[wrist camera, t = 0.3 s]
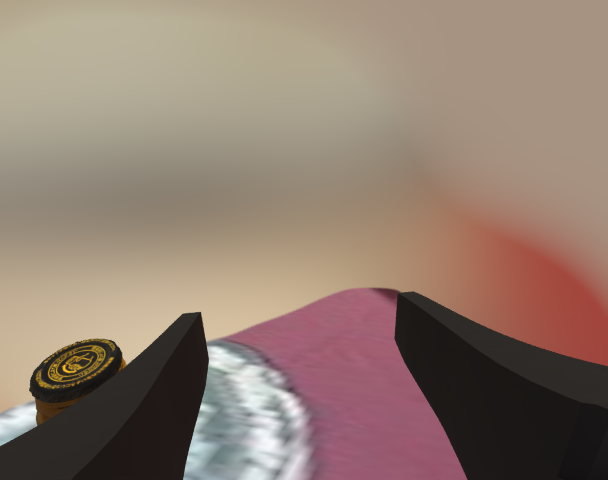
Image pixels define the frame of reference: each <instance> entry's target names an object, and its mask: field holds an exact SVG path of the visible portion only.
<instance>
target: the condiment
mask: <svg viewBox="0 0 608 480" xmlns="http://www.w3.org/2000/svg"><path fill="white" fill-rule="evenodd" d="M124 367H126V362H125V361H124V359H123V358H122V352H121V350H120V348H119V347H118V346H117V345H116V344H115V342H114V341H111V340H106V339H89V340H83V341H81V342H76V343H74V344H72V345H69V346H66V347H64V348H62V349H60V350H58V351H57V352H55V353H54V354H52V355H51V356H49V357H48V358H46V359H45V360H44V361H43V362H42V363H41V364H40V365H39V367H37V368H36V369H35V371H34V372H33V375H32V377H31V380H30V389H29V391H30V392H32V396H34V397H35V402H36V410H37V415H36V422H37V425H40V424H42V423H44V422H45V421H47V420H49V419H50V418H52V417H54V416H55V415H57V414H59V413H60V412H62V411H63V410H65V409H66V408H68V407H70V406H71V405H73V404H74V403H76V402H77V401H79V400H80V399H82V398H84V397H85V396H87V395H88V394H90V393H91V392H93V391H94V390H95V389H97V388H98V387H99V386H101V385H102V384H104V383H105V382H106V381H108V380H109V379H110V378H112V377H113V376H114V375H116V374H117V373H118V372H119V371H121V370H122V369H123V368H124Z"/></svg>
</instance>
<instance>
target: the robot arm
mask: <svg viewBox="0 0 608 480" xmlns="http://www.w3.org/2000/svg"><path fill="white" fill-rule="evenodd" d="M395 341H396V344H397V346H398V348H399V351H400V353H401V355H402V358H403V360H404V362H405V364H406V366H407V367H408V369H409V371H410V372H411V374H412V376H413V378H414V379H415V381H416V383H417V384H418V386H419V387H420V389H421V391H422V392H423V394H424V396H425V397H426V399H427V401H428V402H429V404H430V406H431V407H432V409H433V411H434V412H435V414H436V416H437V417H438V419H439V421H440V423H441V425H442V426H443V428H444V430H445V432H446V434H447V436H448V438H449V440H450V443H451V445H452V447H453V449H454V451H455V453H456V455H457V457H458V459H459V462H460V464H461V466H462V468H463V470H464V473H465V475H466V477H467V479H468V480H608V366H604V365H600V364H596V363H592V362H587V361H583V360H580V359H576V358H572V357H568V356H565V355H561V354H558V353H555V352H552V351H548V350H545V349H542V348H539V347H536V346H533V345H530V344H527V343H524V342H522V341H519V340H516V339H514V338H511V337H508V336H505V335H503V334H501V333H498V332H496V331H493V330H491V329H489V328H487V327H485V326H482V325H480V324H478V323H476V322H474V321H472V320H470V319H468V318H466V317H463V316H461V315H459V314H457V313H456V312H454V311H452V310H450V309H448V308H446V307H444V306H442V305H440V304H438V303H436V302H434V301H432V300H430V299H429V298H427V297H425V296H423V295H420V294H418V293H416V292H404V293H398V297H397V311H396V325H395ZM208 363H209V357H208V351H207V345H206V339H205V334H204V328H203V322H202V316H201V312H195V313H185V314H182V315H181V316H180V317H179V318H178V319H177V320H176V321H175V322H174V323H173V324H172V325H171V326H169V327H168V329H166V331H165V332H164V333H162V335H160V336H159V337H158V338H157V339H156V340H155V341H154V342H153V343H152V344H151V345H150V346H149V347H147V348H146V349H145V350H144V351H143V352H142V353H141V354H140V355H138V356H137V357H136V358H135V359H134V360H132V361H131V362H130V363H129V364H128V365H127V366H126V367H124V368H123V369H122V370H121V371H119V372H118V373H117V374H116V375H114V376H113V377H112V378H110V379H109V380H108V381H106V382H105V383H104V384H102V385H101V386H99V387H98V388H97V389H95V390H94V391H93V392H91V393H90V394H88V395H87V396H85V397H84V398H82V399H80V400H79V401H77V402H76V403H74V404H73V405H71V406H70V407H68V408H66V409H65V410H63V411H62V412H60V413H59V414H57V415H55V416H54V417H52V418H50V419H49V420H47V421H45V422H44V423H42V424H40V425H38V426H37V427H35V428H33V429H31V430H30V431H28V432H26V433H24V434H22V435H20V436H19V437H17V438H15V439H13V440H11V441H9V442H7V443H5V444H4V445H2V446H0V480H183V477H184V471H185V465H186V460H187V456H188V451H189V447H190V444H191V440H192V436H193V432H194V428H195V425H196V421H197V417H198V413H199V410H200V406H201V402H202V398H203V394H204V390H205V386H206V379H207V371H208Z"/></svg>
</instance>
